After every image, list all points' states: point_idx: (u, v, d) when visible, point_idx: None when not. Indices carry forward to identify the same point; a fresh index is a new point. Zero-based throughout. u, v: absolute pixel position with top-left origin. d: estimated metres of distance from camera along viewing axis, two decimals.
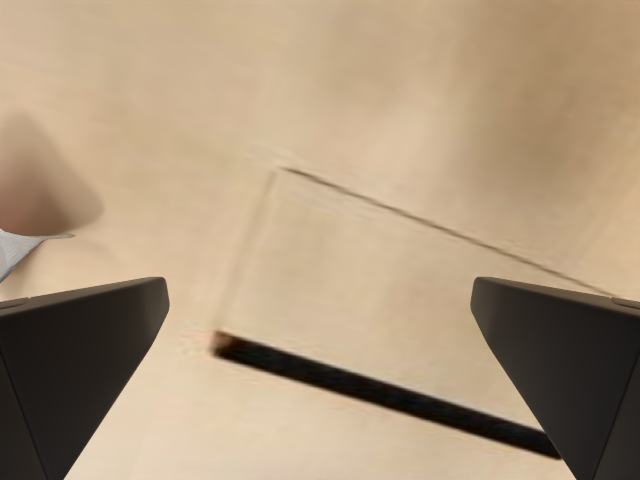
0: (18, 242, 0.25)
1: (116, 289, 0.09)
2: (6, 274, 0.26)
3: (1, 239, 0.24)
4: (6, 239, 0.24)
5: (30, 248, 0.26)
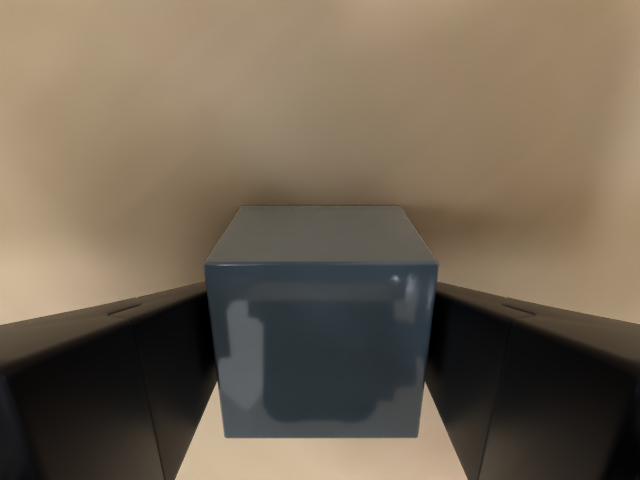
0: None
1: None
2: None
3: None
4: None
5: None
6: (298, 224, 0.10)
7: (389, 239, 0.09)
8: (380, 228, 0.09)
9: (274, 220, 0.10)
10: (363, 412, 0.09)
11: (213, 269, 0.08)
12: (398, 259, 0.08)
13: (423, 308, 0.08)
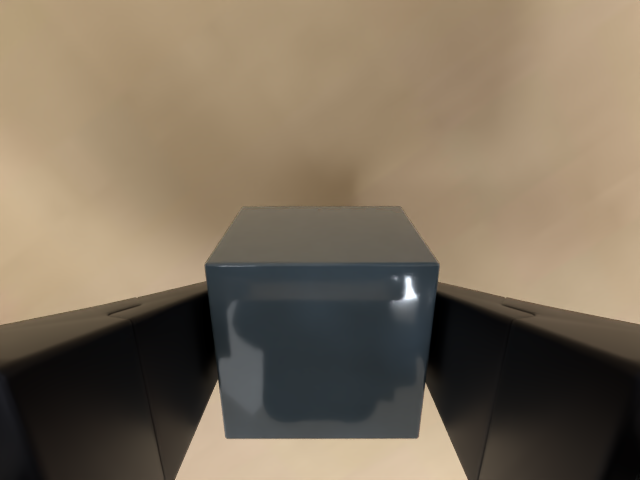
0: None
1: None
2: None
3: None
4: None
5: None
6: (299, 225, 0.10)
7: (390, 240, 0.09)
8: (381, 230, 0.09)
9: (276, 221, 0.10)
10: (363, 412, 0.09)
11: (214, 271, 0.08)
12: (399, 260, 0.08)
13: (423, 309, 0.08)
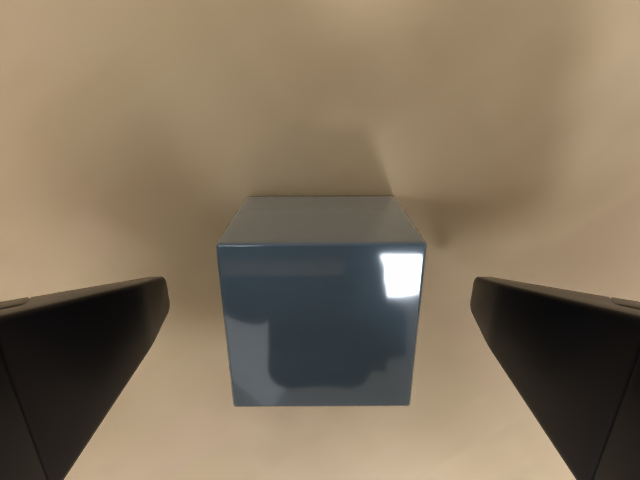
0: None
1: (116, 289, 0.09)
2: None
3: None
4: None
5: None
6: (300, 212, 0.11)
7: (383, 224, 0.10)
8: (375, 216, 0.10)
9: (278, 208, 0.11)
10: (359, 380, 0.10)
11: (225, 250, 0.09)
12: (390, 240, 0.09)
13: (412, 284, 0.09)
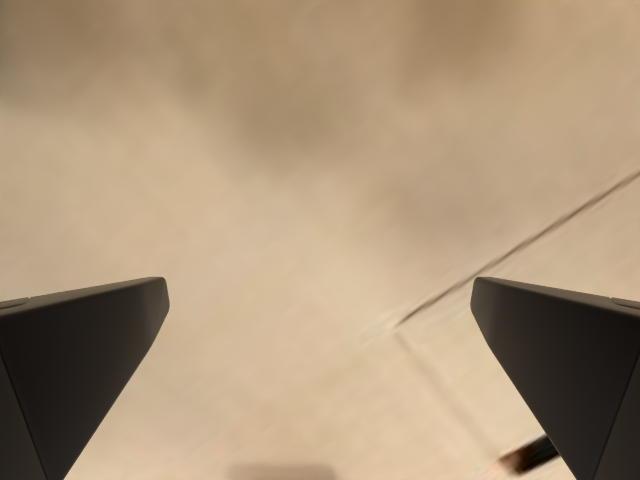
0: None
1: (116, 289, 0.09)
2: None
3: None
4: None
5: None
6: None
7: None
8: None
9: None
10: None
11: None
12: None
13: None
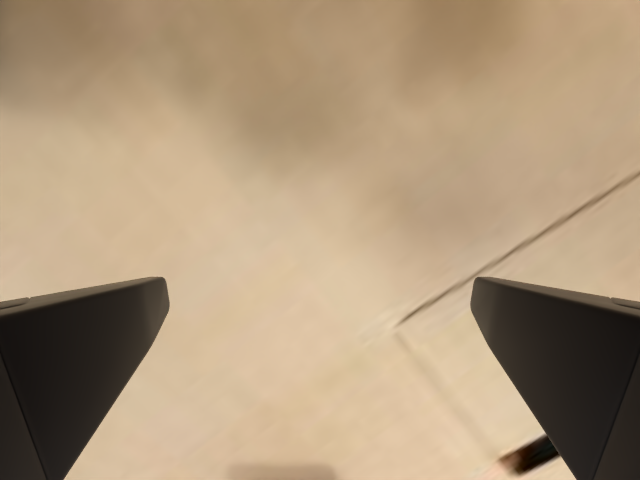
0: None
1: (116, 289, 0.09)
2: None
3: None
4: None
5: None
6: None
7: None
8: None
9: None
10: None
11: None
12: None
13: None
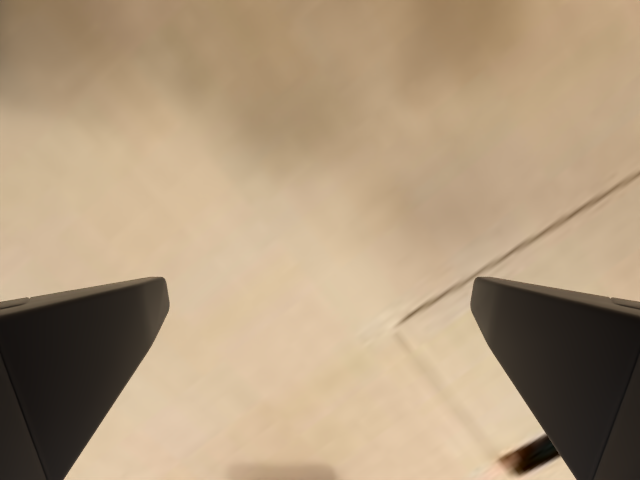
0: None
1: (116, 289, 0.09)
2: None
3: None
4: None
5: None
6: None
7: None
8: None
9: None
10: None
11: None
12: None
13: None
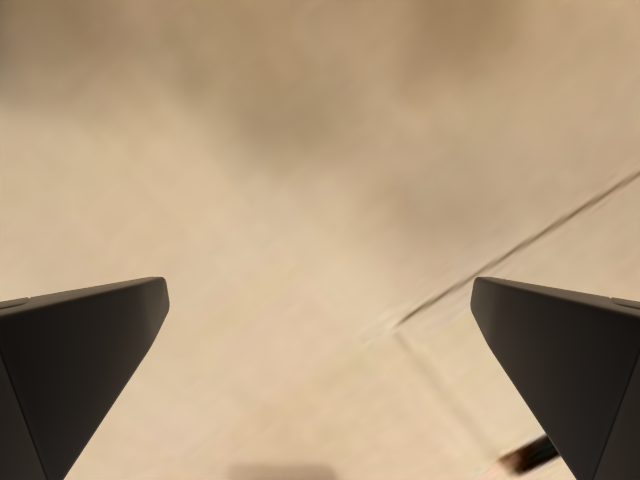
0: None
1: (116, 289, 0.09)
2: None
3: None
4: None
5: None
6: None
7: None
8: None
9: None
10: None
11: None
12: None
13: None
